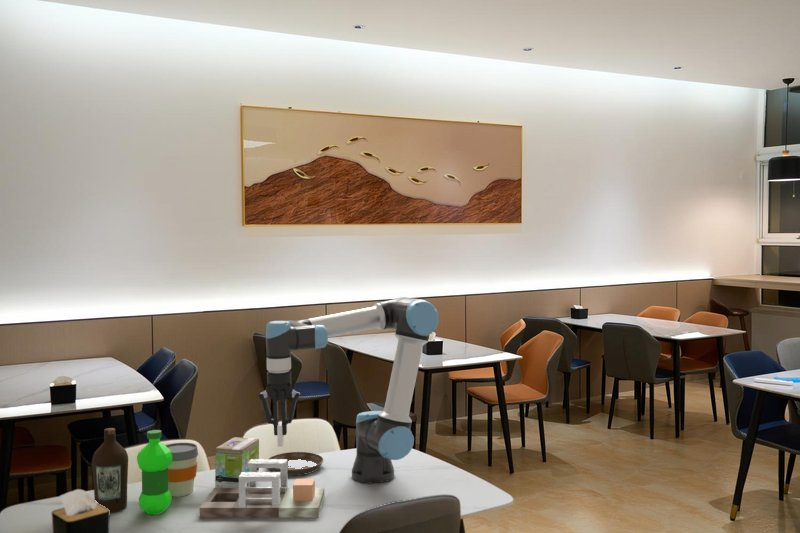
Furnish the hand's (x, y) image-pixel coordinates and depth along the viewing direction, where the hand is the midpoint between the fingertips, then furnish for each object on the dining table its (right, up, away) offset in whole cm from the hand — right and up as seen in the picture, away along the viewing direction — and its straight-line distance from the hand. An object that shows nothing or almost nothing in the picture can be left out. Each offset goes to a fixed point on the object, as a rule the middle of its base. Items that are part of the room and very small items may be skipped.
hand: (280, 445), depth 238 cm
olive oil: (-53, -20, 0) cm, 57 cm away
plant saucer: (-1, -18, +41) cm, 45 cm away
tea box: (-18, -19, +22) cm, 34 cm away
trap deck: (-5, -20, +1) cm, 20 cm away
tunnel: (-5, -17, +1) cm, 17 cm away
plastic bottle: (-38, -20, -3) cm, 43 cm away
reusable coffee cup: (-36, -19, +15) cm, 44 cm away
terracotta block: (+7, -17, 0) cm, 18 cm away
